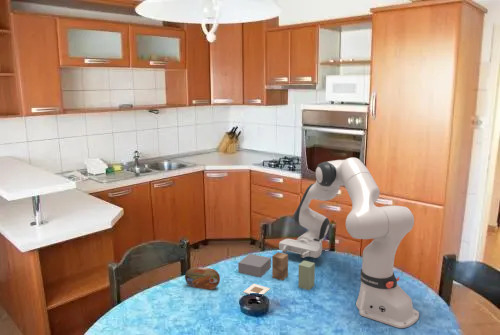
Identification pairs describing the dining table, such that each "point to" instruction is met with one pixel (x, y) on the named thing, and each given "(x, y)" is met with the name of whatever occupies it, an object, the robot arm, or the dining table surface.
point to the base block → (254, 265)
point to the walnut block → (280, 266)
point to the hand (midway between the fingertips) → (292, 253)
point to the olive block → (306, 275)
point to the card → (256, 289)
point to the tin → (202, 278)
